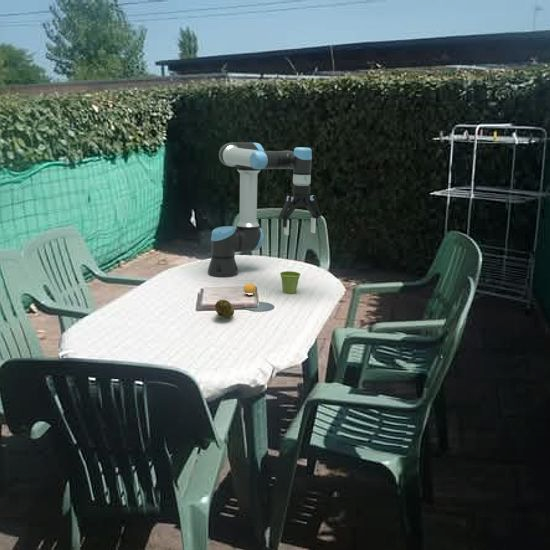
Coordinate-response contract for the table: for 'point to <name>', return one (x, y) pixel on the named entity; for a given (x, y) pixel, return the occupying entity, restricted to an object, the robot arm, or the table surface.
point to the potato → (224, 308)
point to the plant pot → (289, 281)
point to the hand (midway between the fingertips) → (299, 233)
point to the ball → (249, 288)
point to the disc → (262, 307)
